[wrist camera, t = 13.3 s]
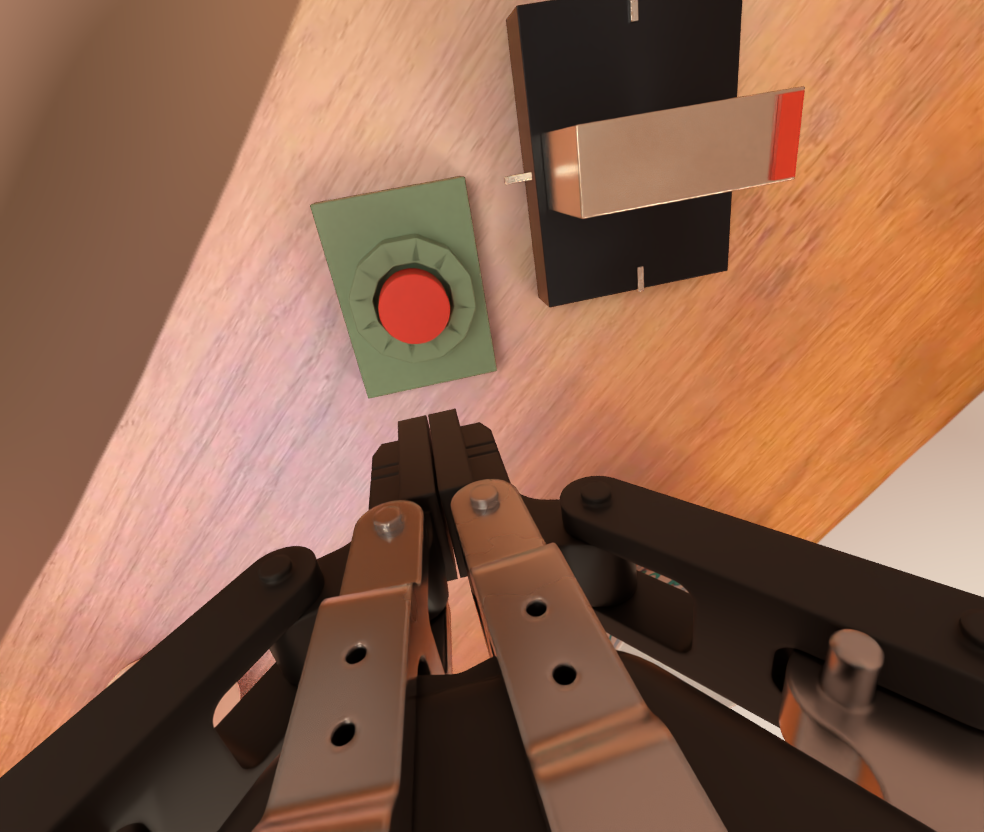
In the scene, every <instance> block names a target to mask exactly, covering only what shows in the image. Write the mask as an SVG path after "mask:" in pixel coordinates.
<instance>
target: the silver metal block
mask: <svg viewBox="0 0 984 832" xmlns="http://www.w3.org/2000/svg"><path fill="white" fill-rule="evenodd" d="M804 89H805V87H804V86H801V87H795V88H790V89H784V90H778V91H772V92H766V93H760V94H754V95H748V96H743V97H737V98H731V99H725V100H719V101H713V102H707V103H701V104H696V105H690V106H684V107H678V108H672V109H666V110H660V111H654V112H649V113H643V114H637V115H631V116H625V117H619V118H613V119H607V120H602V121H596V122H590V123H584V124H578V125H573V126H569V127H565V128H560V129H556V130H552V131H548V132H543V133H542V134H541V137H542V147H543V158H544V169H545V179H546V190H547V200H548V209H549V210H552V211H556V212H560V213H563V214H567V215H570V216H574V217H578V218H581V219H585V218H591V217H596V216H602V215H607V214H612V213H618V212H623V211H628V210H634V209H639V208H644V207H650V206H655V205H660V204H666V203H671V202H677V201H682V200H687V199H693V198H698V197H703V196H709V195H714V194H719V193H725V192H730V191H736V190H741V189H746V188H752V187H757V186H762V185H768V184H773V183H778V182H784V181H789V180H793V179H794V178H795V171H796V162H797V153H798V144H799V136H800V127H801V118H802V109H803V100H804Z"/></svg>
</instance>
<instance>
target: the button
mask: <svg viewBox="0 0 984 832" xmlns="http://www.w3.org/2000/svg"><path fill="white" fill-rule="evenodd" d="M378 310H379V317H380V320H381V322H382V324H383V326H384V328H385V329H386V331H387V332H388V333H389V334H390V335H391V336H393V337H394V338H396V339H397V340H399V341H402V342H404V343H409V344H421V343H426V342H428V341H431V340H433V339H434V338H436V337H437V336H438V335H439V334H440V333H441V332H442V331H443V330H444V329H445V327H446V325H447V323H448V320H449V316H450V303H449V299H448V297H447V294H446V292H445V289H444V287H443V285H442V284H441V282H440V281H439V280H438V279H437V278H436V277H435V276H434V275H433V274H431V273H429V272H427V271H425V270H422V269H417V268H407V269H403V270H400V271H397V272H396V273H394V274H393V275H391V276H390V277H389V278H388V279H387V280H386V282H385V283H384V285H383V287H382V289H381V292H380V296H379V306H378Z"/></svg>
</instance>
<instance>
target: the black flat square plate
mask: <svg viewBox="0 0 984 832" xmlns="http://www.w3.org/2000/svg"><path fill="white" fill-rule="evenodd" d="M741 14H742V0H549V1H543V2H537V3H530V4H524V5H518V6H516V8H515V9H514V10H513V11H512V13H511V14H510V15H509V17H508V18H507V19H506V24H507V33H508V41H509V50H510V58H511V67H512V75H513V84H514V92H515V101H516V109H517V118H518V126H519V135H520V143H521V152H522V160H523V169H524V173H523V174H517V175H512V176H507V177H504V179H505V184H506V185H507V184H512V183H517V182H523V181H525V186H526V194H527V203H528V211H529V220H530V228H531V237H532V245H533V254H534V262H535V271H536V279H537V288H538V296H539V298H540V299H541V300H542V301H543V302H544V303H545V304H546V305H547V306H549V307H554V306H559V305H564V304H568V303H573V302H578V301H583V300H588V299H593V298H597V297H602V296H607V295H612V294H617V293H621V292H626V291H631V290H636V289H637V291H638V292H639V291H644V288H646V287H650V286H655V285H660V284H665V283H670V282H674V281H679V280H684V279H689V278H694V277H698V276H703V275H708V274H713V273H718V272H723V271H727V270H728V253H729V234H730V216H731V197H732V191H730V192H725V193H719V194H714V195H709V196H703V197H698V198H693V199H687V200H682V201H677V202H671V203H666V204H660V205H655V206H650V207H644V208H639V209H634V210H628V211H623V212H618V213H612V214H607V215H602V216H596V217H591V218H585V219H581V218H578V217H574V216H570V215H567V214H563V213H560V212H556V211H552V210H549V209H548V200H547V190H546V179H545V169H544V158H543V147H542V137H541V134H542V133H543V132H548V131H552V130H556V129H560V128H565V127H569V126H573V125H578V124H584V123H590V122H596V121H602V120H607V119H613V118H619V117H625V116H631V115H637V114H643V113H649V112H654V111H660V110H666V109H672V108H678V107H684V106H690V105H696V104H701V103H707V102H713V101H719V100H725V99H731V98H737V87H738V69H739V50H740V32H741Z"/></svg>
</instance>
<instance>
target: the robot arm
mask: <svg viewBox="0 0 984 832" xmlns="http://www.w3.org/2000/svg"><path fill="white" fill-rule="evenodd" d="M428 417H429V424H430V428H429V424H428V420H427V417H426V415H425V416H420V417H416V418H411V419H407V420H402V421H398V441H394V442H389V443H385V444H381V446H380V447H379V449H378V450H377V451H376V453H375V454H374V455H373V458H372V471H371V485H370V498H369V511H367V512H366V513H365V514H364V515H363V516H361V518H360V519H359V520H358V521H357V523H356V525H355V528H354V532H353V537H352V541H351V542H350V543H348V544H347V545H345V546H344V547H342V548H340V549H338V550H336V551H334V552H332V553H330V554H327V555H325V556H323V557H321V558H319V559H316V557H315V554H314V553H313V552H312V551H311V550H310V549H308V548H306V547H301V546H291V547H285V548H281V549H278V550H276V551H273V552H271V553H269V554H267V555H265V556H263V557H262V558H260V559H258V560H257V561H256V562H255V563H253V564H252V565H251V566H250V567H249V568H247V569H246V570H245V571H244V572H243V573H241V574H240V575H239V576H238V577H237V578H236V579H234V580H233V581H232V582H231V583H230V584H228V585H227V586H226V587H225V588H224V589H223V590H221V591H220V592H219V593H218V594H217V595H215V596H214V597H213V598H212V599H211V600H210V601H208V602H207V603H206V604H205V605H204V606H202V607H201V608H200V609H199V610H198V611H197V612H195V613H194V614H193V615H192V616H191V617H190V618H188V619H187V620H186V621H185V622H184V623H182V624H181V625H180V626H179V627H178V628H177V629H175V630H174V631H173V632H172V633H171V634H169V635H168V636H167V637H166V638H165V639H164V640H162V641H161V642H160V643H159V644H158V645H156V646H155V647H154V648H153V649H152V650H151V651H149V652H148V653H147V654H146V655H145V656H143V657H142V658H141V659H140V660H139V661H138V662H136V663H135V664H134V665H133V666H132V667H131V668H129V669H128V670H127V671H126V672H125V673H123V674H122V675H121V676H120V677H119V678H118V679H116V680H115V681H114V682H113V683H112V684H110V685H109V686H108V687H107V688H106V689H105V690H103V691H102V692H101V693H100V694H99V695H97V696H96V697H95V698H94V699H93V700H92V701H90V702H89V703H88V704H87V705H86V706H84V707H83V708H82V709H81V710H80V711H79V712H77V713H76V714H75V715H74V716H73V717H72V718H70V719H69V720H68V721H67V722H66V723H64V724H63V725H62V726H61V727H60V728H59V729H57V730H56V731H55V732H54V733H53V734H51V735H50V736H49V737H48V738H47V739H46V740H44V741H43V742H42V743H41V744H40V745H38V746H37V747H36V748H35V749H34V750H33V751H31V752H30V753H29V754H28V755H27V756H25V757H24V758H23V759H22V760H21V761H20V762H18V763H17V764H16V765H15V766H14V767H13V768H11V769H10V770H9V771H8V772H7V773H5V774H4V775H3V776H2V777H1V778H0V832H984V597H981V596H978V595H975V594H972V593H968V592H965V591H962V590H959V589H956V588H953V587H950V586H947V585H944V584H941V583H937V582H934V581H931V580H928V579H925V578H922V577H919V576H915V575H912V574H910V573H906V572H903V571H900V570H897V569H894V568H891V567H888V566H885V565H882V564H879V563H875V562H872V561H869V560H866V559H863V558H860V557H857V556H853V555H851V554H847V553H844V552H841V551H838V550H835V549H832V548H829V547H826V546H822V545H819V544H816V543H813V542H810V541H807V540H804V539H801V538H798V537H795V536H792V535H789V534H785V533H782V532H779V531H776V530H773V529H770V528H767V527H764V526H761V525H758V524H754V523H751V522H748V521H745V520H742V519H739V518H736V517H733V516H730V515H727V514H723V513H720V512H717V511H714V510H711V509H708V508H705V507H702V506H699V505H695V504H692V503H689V502H686V501H683V500H680V499H677V498H674V497H671V496H668V495H664V494H661V493H658V492H655V491H652V490H649V489H646V488H643V487H640V486H637V485H633V484H630V483H627V482H624V481H621V480H618V479H615V478H611V477H605V476H590V477H585V478H581V479H578V480H576V481H574V482H572V483H570V484H569V485H567V486H566V487H565V488H564V489H563V491H562V493H561V495H560V500H540V499H533V498H529V497H526V496H523V495H521V494H520V493H519V492H518V490H517V489H516V487H515V486H514V485H512V484H511V483H510V480H509V478H508V475H507V472H506V470H505V467H504V464H503V461H502V459H501V456H500V453H499V451H498V448H497V445H496V443H495V440H494V437H493V434H492V431H491V430H490V429H489V428H487V427H486V426H484V425H483V424H481V423H480V422H478V423H474V424H469V425H465V426H460V424H459V420H458V416H457V412H456V409H452V410H447V411H443V412H438V413H434V414H429V415H428ZM453 550H454V551H453ZM454 554H455V557H456V561H457V565H458V569H459V573H460V577H461V578H462V577H466V576H468V579H469V583H470V587H471V591H472V596H473V600H474V604H475V608H476V611H477V615H478V618H479V622H480V625H481V629H482V632H483V636H484V639H485V643H486V646H487V649H488V653H489V656H490V658H489V659H487V660H485V661H484V662H482V663H480V664H478V665H476V666H474V667H472V668H470V669H468V670H466V671H464V672H462V673H458V674H453V673H452V640H451V612H450V607H449V603H448V597H449V592H448V584H447V581H451V580H455V579H458V577H457V571H456V564H455V558H454ZM636 564H637V565H639V566H641V567H644V568H646V569H648V570H651V571H653V572H655V573H658V574H660V575H662V576H665V577H667V578H669V579H672V580H674V581H676V582H677V583H679V584H680V585H682V586H683V587H684V588H685V589H686V590H687V591H688V592H689V593H688V592H686V591H684V590H681V589H679V588H677V587H674V586H672V585H670V584H668V583H665V582H663V581H661V580H658V579H656V578H654V577H652V576H649V575H647V574H645V573H643V572H640V571H638V570H637V568H636ZM606 633H608V634H610V635H611V636H613V637H615V638H617V639H619V640H620V641H622V642H624V643H626V644H628V645H630V646H631V647H633V648H635V649H637V650H639V651H640V652H642V653H644V654H646V655H648V656H650V657H651V658H653V659H655V660H657V661H659V662H661V663H662V664H664V665H666V666H668V667H670V668H671V669H673V670H675V671H677V672H679V673H681V674H682V675H684V676H686V677H688V678H690V679H691V680H693V681H695V682H697V683H699V684H701V685H702V686H704V687H706V688H708V689H710V690H711V691H713V692H715V693H717V694H719V695H721V696H722V697H724V698H726V699H728V700H730V701H731V702H733V703H735V704H737V705H739V706H741V707H743V708H744V709H746V710H748V711H750V712H752V713H753V714H755V715H757V716H759V717H761V718H762V719H764V720H766V721H768V722H770V723H771V724H773V725H775V726H777V727H779V728H780V729H781V733H782V735H783V737H784V739H785V741H784V740H782V739H781V738H779V737H777V736H776V735H774V734H772V733H771V732H769V731H767V730H765V729H764V728H762V727H760V726H759V725H757V724H755V723H754V722H752V721H750V720H749V719H747V718H745V717H744V716H742V715H740V714H739V713H737V712H735V711H734V710H732V709H730V708H729V707H727V706H725V705H724V704H722V703H720V702H719V701H717V700H715V699H713V698H712V697H710V696H708V695H707V694H705V693H703V692H702V691H700V690H698V689H697V688H695V687H693V686H692V685H690V684H688V683H687V682H685V681H683V680H682V679H680V678H678V677H677V676H675V675H673V674H672V673H670V672H668V671H667V670H665V669H663V668H661V667H660V666H658V665H656V664H654V663H652V662H650V661H648V660H646V659H643V658H641V657H639V656H636V655H633V654H630V653H627V652H624V651H619V650H615V648H614V646H613V644H612V643H611V641H610V639H609V637H608V635H607V634H606ZM268 649H270V651H271V653H272V655H273V657H274V658H275V660H276V663H275V664H274V665H273V666H272V667H271V668H270V669H269V670H268V671H267V672H266V673H265V674H264V675H263V676H262V678H261V679H260V680H259V681H258V682H257V683H256V684H255V685H254V686H253V687H252V688H251V689H250V690H249V691H248V693H247V694H246V695H245V696H244V697H243V698H242V699H241V700H240V701H239V702H238V703H237V704H236V705H235V706H234V707H233V709H232V710H231V711H230V712H229V713H228V714H227V715H226V716H225V717H224V718H223V719H222V720H221V721H220V722H219V724H218V725H217V726H216V727H215V728H214V725H213V717H214V713H215V710H216V707H217V705H218V703H219V702H220V700H221V699H222V697H223V696H224V695H225V694H226V693H227V692H228V691H229V690H230V689H231V688H232V687H233V686H234V684H235V683H236V682H237V681H238V680H239V679H240V678H241V677H242V676H243V675H244V674H245V673H246V672H247V671H248V670H249V669H250V668H251V667H252V666H253V665H254V664H255V663H256V662H257V661H258V660H259V659H260V658H261V657H262V656H263V655H264V654H265V653H266V652H267V650H268Z"/></svg>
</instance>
